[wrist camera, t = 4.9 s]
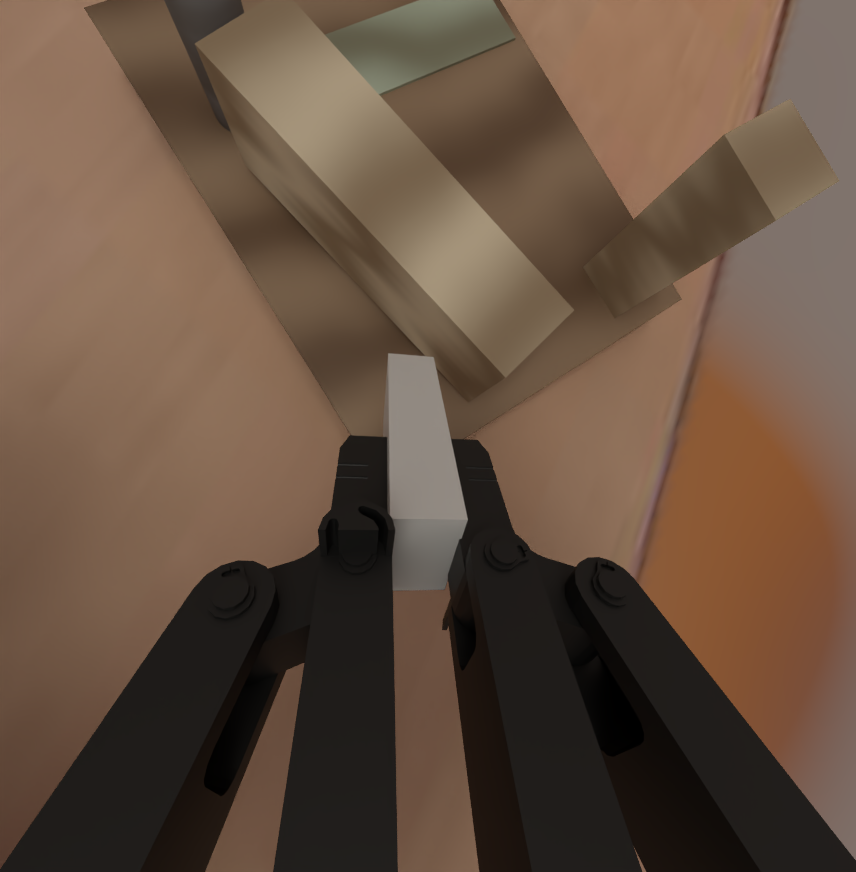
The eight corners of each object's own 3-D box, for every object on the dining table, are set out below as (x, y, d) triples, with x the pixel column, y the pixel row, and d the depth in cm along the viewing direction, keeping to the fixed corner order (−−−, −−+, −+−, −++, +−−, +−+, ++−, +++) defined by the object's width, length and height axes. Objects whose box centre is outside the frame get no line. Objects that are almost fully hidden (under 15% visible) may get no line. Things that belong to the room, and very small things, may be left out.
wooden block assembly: (123, 71, 18) (-171, -400, 8) (429, -36, 21) (480, -467, 11) (383, 486, 18) (397, 508, 8) (645, 318, 21) (875, 195, 12)
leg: (245, 164, 15) (194, 43, 11) (307, 120, 16) (283, -11, 12) (468, 402, 16) (505, 377, 12) (520, 351, 17) (574, 309, 12)
